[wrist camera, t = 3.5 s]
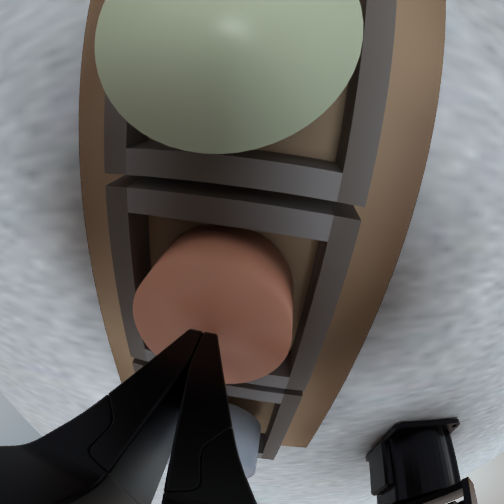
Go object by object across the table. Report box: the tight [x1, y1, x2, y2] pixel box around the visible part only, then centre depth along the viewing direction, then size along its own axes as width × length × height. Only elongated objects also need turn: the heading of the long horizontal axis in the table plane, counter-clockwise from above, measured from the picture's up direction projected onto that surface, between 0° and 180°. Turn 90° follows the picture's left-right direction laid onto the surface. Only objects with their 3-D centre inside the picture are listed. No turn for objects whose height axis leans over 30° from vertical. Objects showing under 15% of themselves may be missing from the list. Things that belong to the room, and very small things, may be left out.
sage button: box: [95, 0, 363, 154], centre depth 5 cm, size 5×5×2 cm
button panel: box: [79, 0, 446, 460], centre depth 12 cm, size 12×25×4 cm, turn 174°
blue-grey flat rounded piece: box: [167, 403, 261, 478], centre depth 13 cm, size 5×5×2 cm
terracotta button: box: [133, 224, 294, 384], centre depth 10 cm, size 5×5×2 cm
